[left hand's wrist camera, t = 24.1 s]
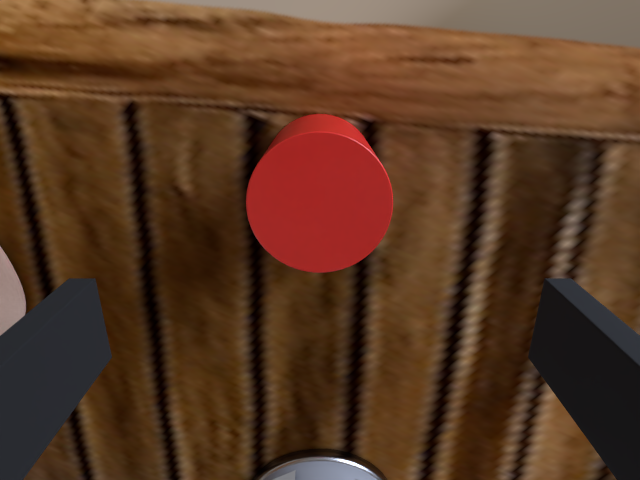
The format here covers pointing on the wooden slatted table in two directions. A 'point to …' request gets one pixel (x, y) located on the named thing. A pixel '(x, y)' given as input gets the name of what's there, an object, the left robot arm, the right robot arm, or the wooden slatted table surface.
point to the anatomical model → (10, 295)
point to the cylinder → (319, 195)
